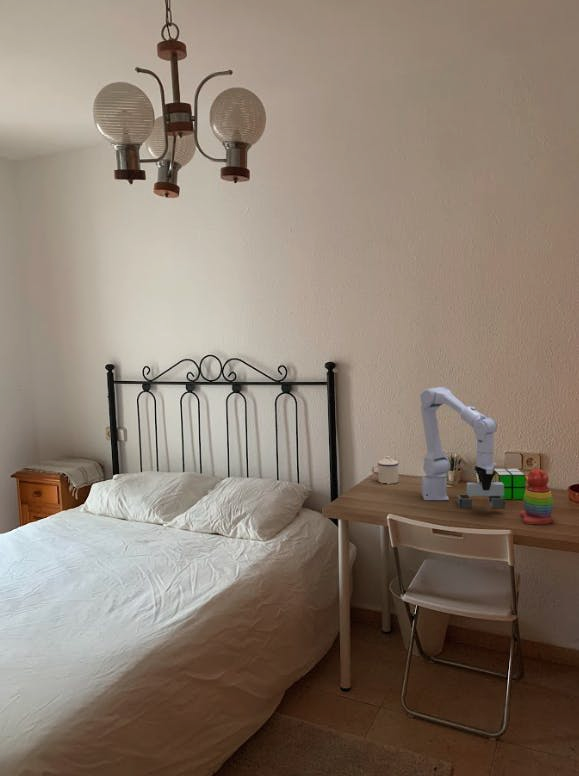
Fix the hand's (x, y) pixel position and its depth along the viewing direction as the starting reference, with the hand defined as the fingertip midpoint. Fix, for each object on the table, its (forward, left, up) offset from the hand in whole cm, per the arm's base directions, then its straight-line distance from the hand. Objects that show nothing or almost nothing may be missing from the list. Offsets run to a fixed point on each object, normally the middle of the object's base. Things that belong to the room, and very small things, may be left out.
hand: (484, 488), depth 205 cm
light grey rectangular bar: (0, 0, -2) cm, 2 cm away
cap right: (+7, +8, -9) cm, 13 cm away
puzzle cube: (+14, +20, -9) cm, 26 cm away
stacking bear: (+16, -8, -9) cm, 20 cm away
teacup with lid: (-33, +42, -9) cm, 54 cm away
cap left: (-6, +8, -9) cm, 13 cm away
